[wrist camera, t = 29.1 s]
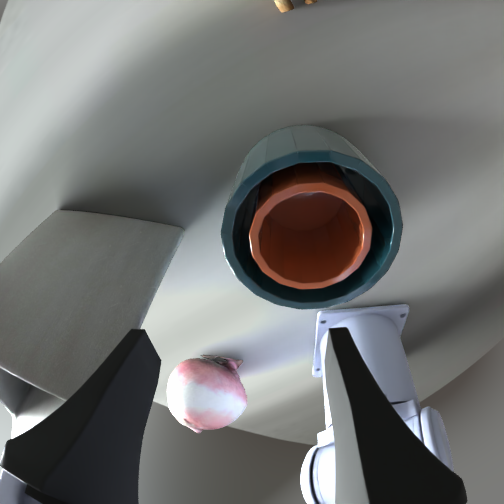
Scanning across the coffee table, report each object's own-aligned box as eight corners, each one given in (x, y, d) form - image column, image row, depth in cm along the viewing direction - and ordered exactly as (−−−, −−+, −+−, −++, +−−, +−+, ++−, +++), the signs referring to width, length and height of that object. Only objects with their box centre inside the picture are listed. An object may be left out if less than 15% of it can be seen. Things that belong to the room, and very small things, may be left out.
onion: (161, 349, 28) (141, 409, 22) (226, 334, 26) (214, 404, 20) (203, 388, 32) (192, 443, 26) (264, 378, 30) (260, 439, 24)
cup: (345, 230, 19) (365, 285, 14) (261, 234, 19) (256, 291, 15) (347, 147, 16) (376, 181, 11) (252, 152, 16) (242, 187, 12)
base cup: (363, 244, 20) (387, 304, 15) (245, 249, 21) (234, 311, 16) (370, 124, 15) (412, 152, 10) (229, 129, 16) (207, 157, 11)
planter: (112, 144, 17) (-132, 397, 1) (187, 232, 20) (72, 544, 4) (24, 254, 23) (-82, 408, 7) (77, 309, 26) (-3, 473, 10)
